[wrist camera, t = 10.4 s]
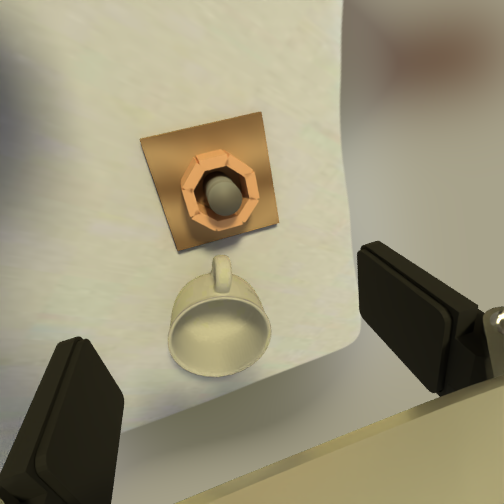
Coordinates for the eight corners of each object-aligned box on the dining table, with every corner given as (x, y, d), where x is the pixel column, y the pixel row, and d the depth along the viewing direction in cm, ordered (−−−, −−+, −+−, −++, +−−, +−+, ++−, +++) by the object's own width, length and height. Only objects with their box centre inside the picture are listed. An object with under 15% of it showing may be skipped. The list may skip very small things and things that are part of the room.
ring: (173, 160, 30) (174, 166, 27) (242, 143, 31) (250, 148, 28) (193, 225, 34) (196, 237, 30) (254, 208, 34) (263, 218, 31)
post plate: (140, 138, 30) (133, 146, 24) (259, 111, 31) (279, 112, 25) (177, 248, 35) (179, 275, 29) (277, 220, 37) (296, 241, 31)
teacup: (242, 335, 43) (256, 380, 36) (161, 330, 39) (160, 380, 32) (270, 244, 38) (293, 276, 31) (181, 230, 34) (184, 261, 27)
